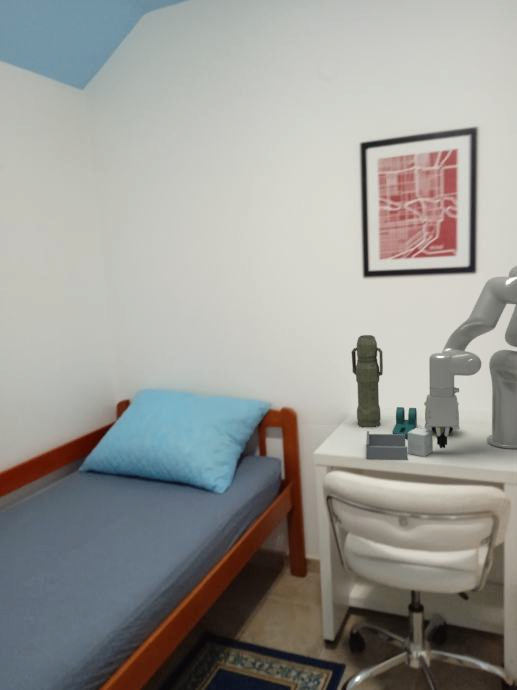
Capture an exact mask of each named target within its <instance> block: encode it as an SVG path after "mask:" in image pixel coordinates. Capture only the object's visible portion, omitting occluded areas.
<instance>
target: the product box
mask: <svg viewBox="0 0 517 690" xmlns="http://www.w3.org/2000/svg"><path fill="white" fill-rule="evenodd" d="M433 435H434V434H433V433H432V430H427V429H425V428H421V427H420V428H419V427H416V428H415V429H413V430H411V431H409V432H408V439H407V452H408V454H410V455H414V456H419V457H425V458H426V456H428V455H429V454H431V453H433V452H434V446H433V445H434V444H433V441H434V440H433Z"/></svg>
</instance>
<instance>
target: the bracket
mask: <svg viewBox="0 0 517 690" xmlns="http://www.w3.org/2000/svg"><path fill="white" fill-rule="evenodd" d="M405 413H406V412H405V407H402V406H398V407H396V411H395V425H394V428H393V429H392V431H391V432H392V433H391V434H405V439H406V440H408V432H409V431H411V430H413V429H415V428H417V427H418V426H417V425H418V414H417V408H416V407H408V414H407V419H406V418H405V417H406V415H405Z"/></svg>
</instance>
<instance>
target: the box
mask: <svg viewBox="0 0 517 690" xmlns="http://www.w3.org/2000/svg"><path fill="white" fill-rule="evenodd" d="M365 440H366V443H365V445H366V446H365V447H366V448H365V450H366V459H367V460H401V461H402V460H403V461H405V460H408V458H409V457H408V456H409V455H408V454H409V453H408V446H406V440H405V434H393V433H390V434H389V433H370V431H369V430H367V431H366V439H365Z"/></svg>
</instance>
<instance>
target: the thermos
mask: <svg viewBox="0 0 517 690" xmlns="http://www.w3.org/2000/svg"><path fill="white" fill-rule="evenodd" d="M356 341H357V342H356V347H353V348H352V350H351V363H352V373H353V375H354V376H355V380H356V383H357V408H356V417H357V418H356V419H357V426H358V425H359V426H358V427H360V426H361V428H364V427H375V428H377V427H376V426H378V427H380V426H381V407H380V404H379V402H380V401H379V399H380V398H379V397H380V396H379V394H380V393H379V382H380V376H383V373H384V372H383V370H384V369H383V368H384V367H383V364H384V363H383V351H382V349H381V348H379V347H378V343H377V340H376V336H373V335H370V334H369V335H368V334H366V335H365V334H364V335H360V336H358V338H357V340H356ZM378 353H379V363H378V359H377V357H378ZM356 356H357V357H356ZM379 425H380V426H379Z"/></svg>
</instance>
